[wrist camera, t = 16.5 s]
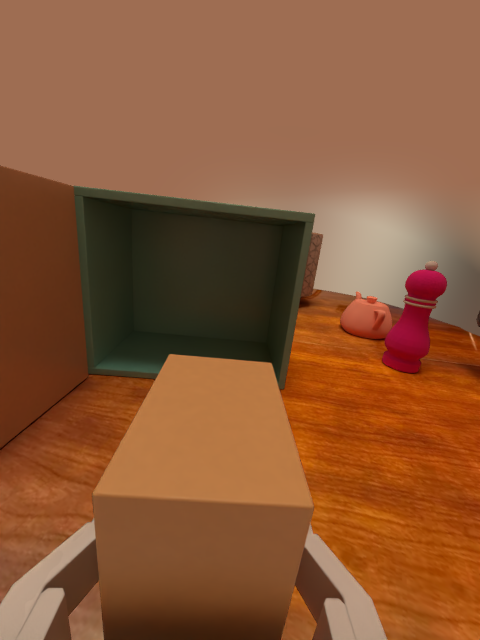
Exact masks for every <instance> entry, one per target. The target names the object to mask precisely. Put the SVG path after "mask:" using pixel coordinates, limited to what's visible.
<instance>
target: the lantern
mask: <svg viewBox="0 0 480 640" xmlns="http://www.w3.org/2000/svg"><path fill="white" fill-rule="evenodd" d="M476 320H477V324H478V326H479V327H480V312H479V314H478V317H477V319H476Z"/></svg>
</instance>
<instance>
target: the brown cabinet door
mask: <svg viewBox="0 0 480 640" xmlns="http://www.w3.org/2000/svg"><path fill="white" fill-rule="evenodd" d="M87 377H88V365H87V353H86V340H85V327H84V314H83V301H82V288H81V276H80V263H79V250H78V237H77V224H76V211H75V199H74V187H73V186H71V185H67V184H64V183H60V182H57V181H53V180H50V179H46V178H43V177H38V176H36V175H32V174H28V173H25V172H21V171H18V170H14V169H11V168H7V167H3V166H0V448H1V447H3V446H4V445H5V444H6V443H7V442H9V441H10V440H11V439H12V438H14V437H15V436H16V435H17V434H18V433H20V432H21V431H22V430H23V429H25V428H26V427H27V426H28V425H29V424H31V423H32V422H33V421H34V420H36V419H37V418H38V417H39V416H41V415H42V414H43V413H44V412H45V411H47V410H48V409H49V408H50V407H52V406H53V405H54V404H55V403H56V402H58V401H59V400H60V399H61V398H63V397H64V396H65V395H66V394H68V393H69V392H70V391H71V390H72V389H74V388H75V387H76V386H77V385H79V384H80V383H81V382H82V381H83V380H85V379H86V378H87Z"/></svg>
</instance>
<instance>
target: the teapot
mask: <svg viewBox="0 0 480 640" xmlns="http://www.w3.org/2000/svg"><path fill="white" fill-rule="evenodd" d="M376 300H377V298H376V297H372V296H367V300H363V299H362V297H361V294H360V293H359V292H356V300H354V301H353V302H352V303H351V304H350V305H349V306H348V307H347V308H346V310H345V311H344V312H343V314H342V317H341V320H340V323H341V325H342V327H343V329H344V330H345V331H346V332H348V333H350V334H353V335H356V336H359V337H364V338H369V339H383V338H385V337H386V336H387V334H388V333H389V331H390V330H391V329H392V318H391V314H390V311H389V308H388V306H387V305H385V304H383V303H380V302H376Z"/></svg>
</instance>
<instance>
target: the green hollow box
mask: <svg viewBox="0 0 480 640" xmlns="http://www.w3.org/2000/svg"><path fill="white" fill-rule="evenodd" d="M73 187H74V195H75V196H74V199H75V211H76V224H77V237H78V250H79V263H80V276H81V288H82V301H83V314H84V327H85V340H86V353H87V365H88V374H99V375H111V376H124V377H136V378H149V379H156V378H157V376H158V374H159V372H160V370H161V369H162V367H163V365H164V363H165V361H166V360H167V358H168V356H169V354H174V355H186V356H198V357H209V358H221V359H233V360H244V361H256V362H268V363H272V366H273V369H274V373H275V376H276V380H277V383H278V386H279V389H284V387H285V381H286V375H287V370H288V364H289V359H290V353H291V347H292V342H293V336H294V331H295V325H296V319H297V314H298V308H299V302H300V297H301V291H302V286H303V280H304V274H305V269H306V263H307V258H308V252H309V246H310V241H311V235H312V229H313V223H314V217H315V214H312V213H303V212H295V211H286V210H277V209H268V208H260V207H252V206H243V205H234V204H226V203H217V202H208V201H200V200H191V199H183V198H174V197H166V196H157V195H149V194H140V193H132V192H122V191H114V190H106V189H97V188H89V187H80V186H73Z"/></svg>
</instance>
